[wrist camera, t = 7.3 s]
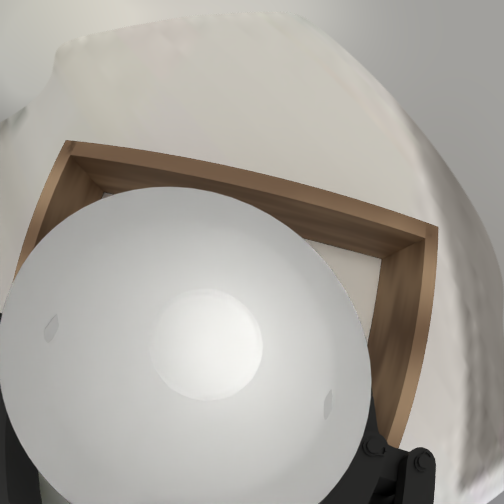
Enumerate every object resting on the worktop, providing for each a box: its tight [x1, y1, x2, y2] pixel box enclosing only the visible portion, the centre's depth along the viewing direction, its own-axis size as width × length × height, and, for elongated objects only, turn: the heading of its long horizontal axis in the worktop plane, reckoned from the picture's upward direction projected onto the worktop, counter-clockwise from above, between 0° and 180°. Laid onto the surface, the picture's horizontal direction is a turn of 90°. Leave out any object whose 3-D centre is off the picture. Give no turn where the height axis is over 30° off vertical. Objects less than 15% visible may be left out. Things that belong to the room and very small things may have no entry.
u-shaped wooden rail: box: [13, 140, 438, 448], centre depth 17 cm, size 14×24×6 cm, turn 77°
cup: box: [0, 187, 371, 504], centre depth 11 cm, size 9×9×12 cm
